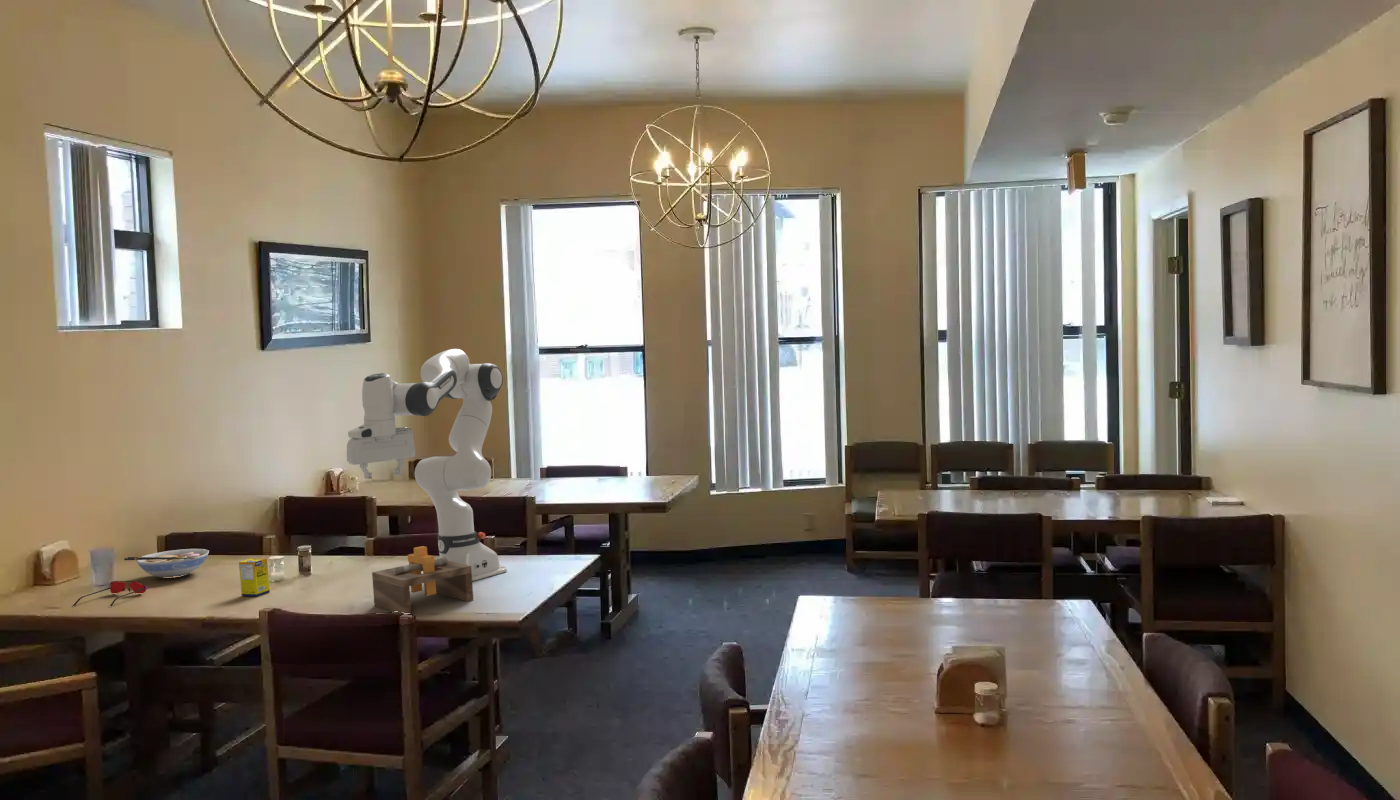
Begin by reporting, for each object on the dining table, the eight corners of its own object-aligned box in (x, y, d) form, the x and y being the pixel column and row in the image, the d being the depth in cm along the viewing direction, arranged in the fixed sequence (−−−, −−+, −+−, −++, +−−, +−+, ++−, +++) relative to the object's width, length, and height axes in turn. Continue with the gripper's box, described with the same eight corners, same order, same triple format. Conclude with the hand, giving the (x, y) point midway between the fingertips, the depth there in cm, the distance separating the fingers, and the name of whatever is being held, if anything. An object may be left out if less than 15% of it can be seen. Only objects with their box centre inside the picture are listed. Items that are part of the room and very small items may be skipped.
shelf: (441, 591, 334) (439, 552, 334) (473, 599, 321) (470, 559, 321) (374, 606, 319) (371, 565, 319) (404, 615, 306) (401, 573, 306)
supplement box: (270, 592, 345) (267, 558, 344) (256, 597, 339) (254, 562, 338) (254, 591, 347) (252, 557, 346) (241, 596, 341) (238, 561, 340)
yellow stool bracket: (419, 589, 325) (416, 544, 324) (437, 593, 318) (433, 547, 317) (410, 591, 323) (407, 546, 322) (427, 595, 315) (424, 549, 315)
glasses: (149, 595, 351) (147, 580, 350) (110, 608, 335) (108, 592, 334) (112, 595, 354) (110, 579, 354) (71, 608, 338) (70, 592, 338)
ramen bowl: (227, 568, 386) (225, 545, 385) (186, 584, 363) (184, 559, 363) (163, 569, 390) (161, 546, 389) (119, 584, 368) (117, 560, 367)
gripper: (407, 425, 330) (410, 471, 331) (342, 432, 317) (345, 480, 317) (417, 426, 326) (420, 472, 327) (352, 433, 312) (355, 481, 313)
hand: (383, 476), depth 322 cm, fingers open, 8 cm apart
